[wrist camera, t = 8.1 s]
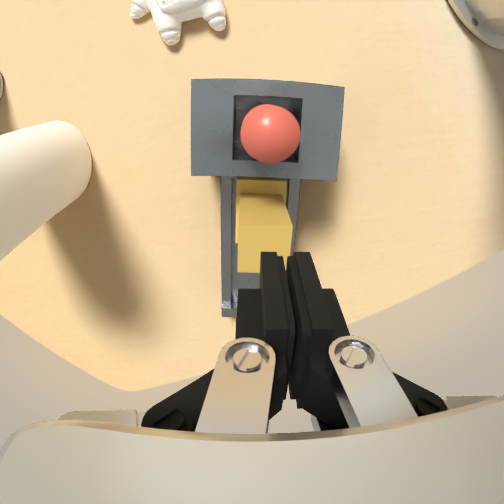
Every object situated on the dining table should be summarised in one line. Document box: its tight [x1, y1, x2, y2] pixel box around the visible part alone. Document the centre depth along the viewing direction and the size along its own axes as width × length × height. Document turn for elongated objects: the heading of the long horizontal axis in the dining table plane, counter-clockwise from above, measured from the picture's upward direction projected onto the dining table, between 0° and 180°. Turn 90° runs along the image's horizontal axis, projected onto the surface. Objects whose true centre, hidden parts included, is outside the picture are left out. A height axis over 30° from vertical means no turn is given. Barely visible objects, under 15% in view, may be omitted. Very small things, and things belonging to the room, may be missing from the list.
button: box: [240, 104, 300, 163], centre depth 17 cm, size 3×3×5 cm
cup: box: [0, 121, 92, 261], centre depth 18 cm, size 8×8×16 cm
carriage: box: [235, 176, 293, 273], centre depth 22 cm, size 4×5×8 cm
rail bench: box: [191, 79, 345, 317], centre depth 24 cm, size 9×20×7 cm, turn 178°
